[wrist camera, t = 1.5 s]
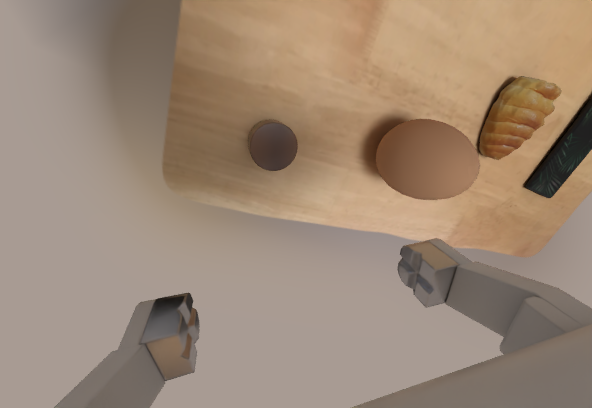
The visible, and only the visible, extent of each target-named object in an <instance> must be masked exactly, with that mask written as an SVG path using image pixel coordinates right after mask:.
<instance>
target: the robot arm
mask: <svg viewBox="0 0 592 408" xmlns="http://www.w3.org/2000/svg"><path fill="white" fill-rule="evenodd" d="M400 255H401V256H402V259H401V260H400V262H399V263H398V273H399V276H400V278H401V280H402V281H403V283H404V284H405V285H406V286H408V287H410V288H412V289H413V291H414V295H415V296H416V297H417V298H418V299H419V301H420V302H421V303H422V304H423V305H424V306H425V307H430V306H434V305H438V304H442V303H446V305H448V306H450V307H452V308H453V309H455V310H457V311H459V312H461V313H462V314H464V315H466V316H468V317H469V318H471V319H473V320H475V321H477V322H479V323H480V324H482V325H484V326H485V327H487V328H489V329H491V330H493V331H494V332H496V333H498V334H500V335H501V336H503V337H504V339H503V341H502V342H501V345H500V351H501V352H502V353H503V354H504V355H501V356H498V357H495V358H493V359H490V360H487V361H484V362H481V363H478V364H475V365H472V366H470V367H467V368H464V369H461V370H458V371H455V372H452V373H450V374H447V375H444V376H441V377H438V378H435V379H432V380H429V381H427V382H424V383H421V384H418V385H415V386H412V387H409V388H406V389H403V390H400V391H398V392H395V393H392V394H389V395H386V396H383V397H380V398H377V399H375V400H372V401H369V402H366V403H363V404H360V405H357V406H354V407H352V408H592V309H591V308H590V307H588V306H587V305H585V304H583V303H582V302H580V301H578V300H577V299H575V298H574V297H572V296H570V295H569V294H567V293H565V292H564V291H562V290H560V289H559V288H556V287H553V286H550V285H547V284H544V283H541V282H538V281H535V280H532V279H528V278H525V277H522V276H519V275H516V274H513V273H510V272H507V271H504V270H500V269H498V268H494V267H491V266H488V265H485V264H482V263H479V262H472V261H470V260H469V259H467V258H466V257H465V256H463V255H462V254H460V253H459V252H458V251H456V250H455V249H453V248H452V247H451V246H449V245H448V244H446V243H445V242H444V241H442V240H441V239H437V238H435V239H431V240H427V241H423V242H419V243H414V244H410V245H406V246H403V247H402V248H401V252H400ZM192 303H193V299H192V297H191V294H190V293H184V294H179V295H174V296H169V297H164V298H158V299H155V300H150V301H145V302H140V303H139V304H138V305H137V306H136V308H135V311H134V313H133V316H132V318H131V320H130V322H129V325H128V327H127V329H126V332H125V334H124V337H123V339H122V341H121V344H120V346H119V348H118V350H116V351H113V352H111V353H110V354H109V355H108V356H107V357H106V358H105V359H104V360H103V361H102V362H101V363H100V364H99V365H98V366H97V367H96V368H95V369H94V370H93V371H91V372H90V373H89V374H88V375H87V376H86V377H85V378H84V379H83V380H82V381H81V382H80V383H79V384H78V385H77V386H76V387H75V388H74V389H73V390H72V391H71V392H70V393H69V394H68V395H67V396H66V397H64V398H63V399H62V400H61V401H60V402H59V403H58V404H57V405H56V406H55V407H54V408H150V406H151V405H152V403H153V401H154V400H155V398H156V397H157V395H158V393H159V392H160V391H161V389H162V387H163V386H164V384H165V381H167V380H171V379H174V378H177V377H180V376H183V375H187V374H190V373H193V372H194V371H195V364H196V356H197V350H196V347H195V345H194V344H195V343H196V341H197V340H198V338H199V318H198V314H197V311H196V309H194V308H192Z"/></svg>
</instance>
